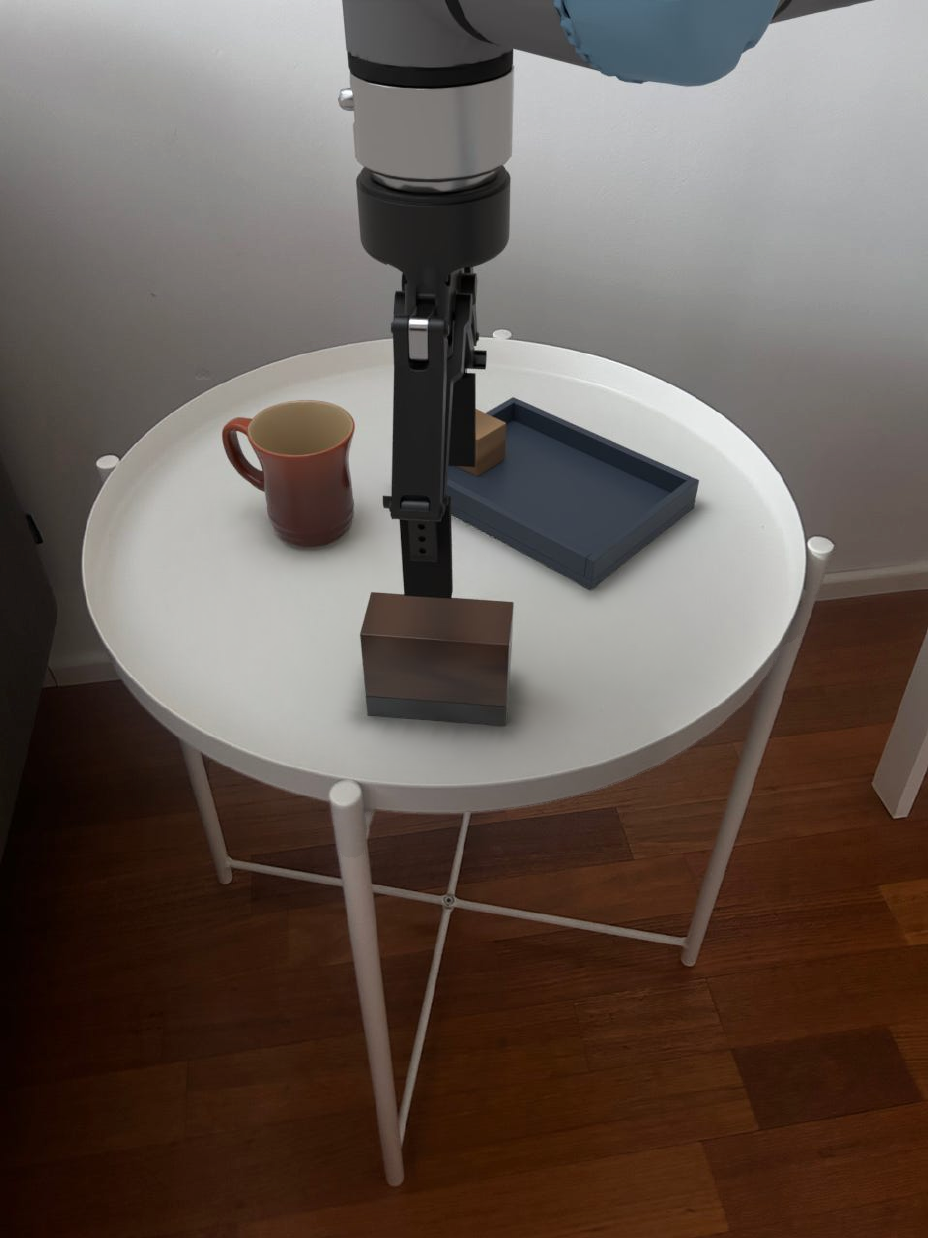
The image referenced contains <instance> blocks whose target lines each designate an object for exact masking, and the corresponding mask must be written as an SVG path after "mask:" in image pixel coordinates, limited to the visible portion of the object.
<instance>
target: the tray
mask: <svg viewBox="0 0 928 1238" xmlns="http://www.w3.org/2000/svg"><path fill="white" fill-rule="evenodd" d="M485 413H486V414H488V415H490V416H492V417H494V418H497V419H499V420H501V421H503V422H505V423H506V443H505V460H503V461H501V462H500V463H498V464H497V465H495V466H494V467H492V468H490V469H489V470H487V471H486V472H484V473H483V474H481V475H479V476H478V477H477V476H475V475H473V474H471V473H469V472H467V471H465V470H463V469H461V468H459V467H457V466H448V479H447V495H448V496H451V516H453V517H456V518H458V519H459V520H462V521H463V522H465V523H467V524H469V525H470V526H472V527H474V528H476V529H478V530H480V531H482V532H483V533H485V534H487V535H489V536H491V537H493V538H495V540H498V541H500V542H502V543H504V544H506V545H507V546H509V547H511V548H513V549H515V550H517V551H518V552H520V553H522V554H524V555H525V556H527V557H529V558H531V559H533V560H535V561H537V562H539V563H541V564H542V565H544V566H546V567H547V568H550V569H551V570H554V571H555V572H557V573H559V574H560V575H562V576H564V577H566V578H568V579H570V580H571V581H574V582H575V583H577V584H579V585H581V586H582V587H584V588H587V589H588V590H590V591H592V590H593V589H594V588H596V586H598V585H599V584H600V583H602V582H603V581H604V580H605V579H606V578H608V577H609V576H610V575H612V574H613V573H614V572H615V571H617V570H618V569H619V568H620V567H621V566H623V565H624V564H626V563H627V562H628V561H629V560H630V559H632V558H633V557H634V556H635V555H637V554H638V553H639V552H640V551H642V550H643V549H644V548H645V547H647V545H649V544H651V543H652V542H653V541H654V540H655V539H657V538H658V537H659V536H660V535H661V534H663V533H664V532H665V531H666V530H668V529H669V528H671V526H673V525H675V523H676V522H678V521H679V520H680V519H681V518H683V517H685V515H686V514H688V513H689V512H690V511H692V510H693V509H694V508H695V504H696V499H697V494H698V490H699V483H700V479H698V478H695V477H693V476H691V475H689V474H686V473H684V472H683V471H681V470H678V469H676V468H674V467H671V466H669V465H667V464H664V463H662V462H660V461H658V460H655V459H653V458H651V457H649V456H647V455H644V454H642V453H639V452H637V451H636V450H633V449H631V448H628V447H626V446H624V445H622V444H619V443H618V442H615V441H612V440H610V439H608V438H606V437H604V436H602V435H599V434H597V433H595V432H593V431H591V430H588V429H586V428H584V427H581V426H579V425H577V424H575V423H572V422H571V421H568V420H566V419H563V418H561V417H559V416H557V415H555V414H552V413H550V412H548V411H545V410H543V409H541V408H539V407H537V406H535V405H532V404H530V403H528V402H526V401H523V400H521V399H519V398H516V397H514V396H513V397H511V398H509V399H507V400H505V401H504V402H502V403H500V404H498V405H496V406H495V407H493V408H492V409H490V410H489V411H486V412H485Z"/></svg>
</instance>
